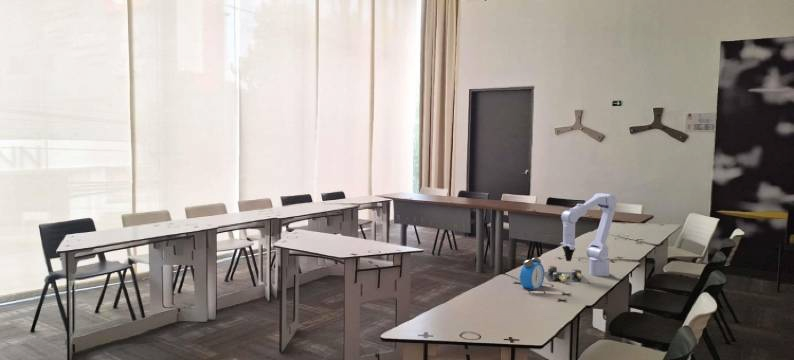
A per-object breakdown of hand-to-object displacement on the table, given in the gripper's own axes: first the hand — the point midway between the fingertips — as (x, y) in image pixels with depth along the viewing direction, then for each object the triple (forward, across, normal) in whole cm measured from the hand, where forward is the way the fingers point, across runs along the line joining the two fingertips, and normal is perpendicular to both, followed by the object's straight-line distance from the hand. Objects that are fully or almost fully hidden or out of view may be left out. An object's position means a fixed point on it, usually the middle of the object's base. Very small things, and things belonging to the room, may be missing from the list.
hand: (568, 260), depth 268 cm
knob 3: (+9, 0, +5) cm, 10 cm away
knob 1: (+9, -11, -5) cm, 15 cm away
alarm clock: (+10, +17, -21) cm, 29 cm away
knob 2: (+9, +6, -5) cm, 12 cm away
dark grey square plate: (+10, -2, -1) cm, 11 cm away
